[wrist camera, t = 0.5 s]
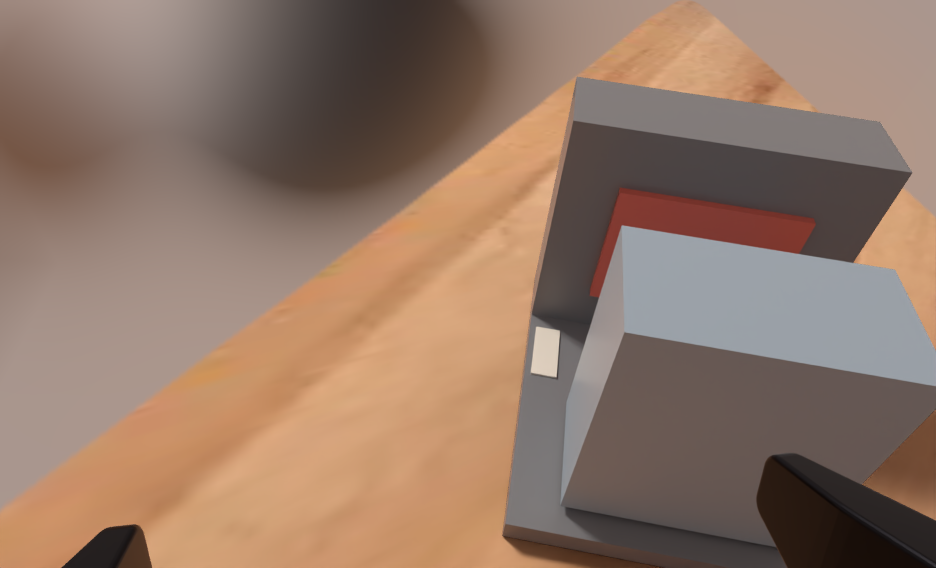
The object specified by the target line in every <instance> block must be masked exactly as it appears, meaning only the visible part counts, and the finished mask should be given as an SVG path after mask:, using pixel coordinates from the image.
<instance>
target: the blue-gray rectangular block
mask: <svg viewBox="0 0 936 568" xmlns="http://www.w3.org/2000/svg"><path fill="white" fill-rule="evenodd" d="M935 409H936V351H935V349H934V347H933V345H932V343H931V341H930V339H929V337H928V335H927V333H926V331H925V329H924V327H923V325H922V323H921V321H920V319H919V317H918V315H917V313H916V311H915V309H914V307H913V305H912V303H911V301H910V299H909V297H908V295H907V293H906V291H905V289H904V287H903V285H902V283H901V281H900V279H899V277H898V275H897V273H896V271H895V270H893V269H887V268H881V267H875V266H869V265H862V264H856V263H850V262H844V261H838V260H832V259H826V258H820V257H813V256H807V255H801V254H795V253H789V252H783V251H777V250H770V249H764V248H758V247H752V246H746V245H740V244H734V243H727V242H721V241H715V240H709V239H703V238H697V237H691V236H685V235H678V234H672V233H666V232H660V231H654V230H648V229H642V228H635V227H629V226H623V225H622V226H621V229H620V232H619V236H618V239H617V242H616V245H615V248H614V252H613V255H612V258H611V261H610V264H609V268H608V271H607V274H606V277H605V280H604V284H603V287H602V290H601V293H600V296H599V300H598V303H597V306H596V309H595V313H594V316H593V319H592V322H591V325H590V329H589V332H588V335H587V338H586V341H585V345H584V348H583V351H582V354H581V357H580V361H579V364H578V367H577V370H576V373H575V377H574V380H573V383H572V386H571V389H570V393H569V396H568V399H567V402H566V418H565V435H564V452H563V469H562V485H561V502H560V506H563V507H569V508H574V509H579V510H584V511H589V512H595V513H600V514H605V515H610V516H616V517H621V518H626V519H631V520H636V521H642V522H647V523H652V524H657V525H663V526H668V527H673V528H678V529H683V530H689V531H694V532H699V533H704V534H710V535H715V536H720V537H725V538H730V539H736V540H741V541H746V542H751V543H757V544H762V545H767V546H772V547H776V545H775V543H774V541H773V539H772V537H771V535H770V533H769V531H768V530H767V528H766V526H765V524H764V522H763V520H762V518H761V516H760V514H759V511H758V508H757V503H756V495H757V491H758V487H759V483H760V479H761V476H762V472H763V468H764V464H765V461H766V460H767V458H768V457H769V456H771V455H775V454H784V453H797V454H799V455H802V456H804V457H806V458H808V459H810V460H812V461H814V462H816V463H818V464H820V465H822V466H824V467H826V468H828V469H830V470H832V471H835V472H837V473H839V474H841V475H843V476H845V477H847V478H849V479H851V480H853V481H855V482H857V483H859V484H861V485H862V483H863V482H864V481H865V480H866V479H867V478H868V477H869V476H870V475H871V474H872V473H873V472H874V471H875V470H876V469H877V468H878V467H879V466H880V465H881V464H882V463H883V462H884V461H885V460H886V459H887V458H888V457H889V456H890V455H891V454H892V453H893V452H894V451H895V450H896V449H897V448H898V447H899V446H900V445H901V444H902V443H903V442H904V441H905V440H906V439H907V438H908V437H909V436H910V435H911V434H912V433H913V432H914V431H915V430H916V429H917V428H918V427H919V426H920V425H921V424H922V423H923V422H924V421H925V420H926V419H927V418H928V417H929V416H930V414H931V413H932V412H933V411H934V410H935Z"/></svg>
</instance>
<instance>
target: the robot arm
mask: <svg viewBox="0 0 936 568" xmlns="http://www.w3.org/2000/svg"><path fill="white" fill-rule="evenodd" d="M756 503H757V508H758V511H759V514H760V516H761V518H762V520H763V522H764V524H765V526H766V528H767V530H768V531H769V533H770V535H771V537H772V539H773V541H774V543H775V545H776V547H777V549H778V551H779V553H780V555H781V557H782V559H783V561H784V563H785V565H786V567H787V568H936V520H934V519H931V518H929V517H927V516H925V515H923V514H921V513H919V512H917V511H915V510H913V509H911V508H909V507H907V506H905V505H903V504H901V503H898V502H896V501H894V500H892V499H890V498H888V497H886V496H884V495H882V494H880V493H878V492H876V491H874V490H872V489H870V488H868V487H865V486H863V485H861V484H859V483H857V482H855V481H853V480H851V479H849V478H847V477H845V476H843V475H841V474H839V473H837V472H835V471H832V470H830V469H828V468H826V467H824V466H822V465H820V464H818V463H816V462H814V461H812V460H810V459H808V458H806V457H804V456H802V455H799V454H797V453H784V454H775V455H771V456H769V457H768V458H767V460H766V461H765V464H764V468H763V472H762V476H761V479H760V483H759V487H758V491H757V495H756ZM62 568H152V565H151V561H150V557H149V553H148V548H147V544H146V540H145V536H144V532H143V530H142V528H141V527H140V526H138V525H135V524H133V525H124V526H115V527H109V528H106V529H104V530H102V531H101V532H100V533H99V534H98V535H96V536H95V537H94V538H93V539H92V540H91V541H90V542H89V543H88V544H87V545H86V546H85V547H83V548H82V549H81V550H80V551H79V552H78V553H77V554H76V555H75V556H74V557H73V558H72V559H70V560H69V561H68V562H67V563H66V564H65V565H64V566H63V567H62Z"/></svg>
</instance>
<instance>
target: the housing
mask: <svg viewBox="0 0 936 568" xmlns="http://www.w3.org/2000/svg"><path fill="white" fill-rule="evenodd" d="M911 174H912V171H911V170H910V168H909V167H908V165H907V164H906V162H905V160H904V159H903V157H902V156H901V154H900V153H899V151H898V149H897V148H896V146H895V145H894V143H893V142H892V140H891V138H890V137H889V136H888V134H887V132H886V131H885V129H884V128H883V126H882V124H881V123H880V122H877V121H869V120H863V119H856V118H850V117H843V116H836V115H830V114H823V113H816V112H810V111H803V110H796V109H789V108H783V107H776V106H769V105H763V104H756V103H749V102H743V101H736V100H729V99H722V98H716V97H709V96H702V95H696V94H689V93H682V92H676V91H669V90H662V89H655V88H649V87H642V86H635V85H629V84H622V83H615V82H608V81H602V80H595V79H588V78H582V77H577V79H576V84H575V89H574V93H573V98H572V103H571V108H570V112H569V117H568V122H567V127H566V132H565V136H564V141H563V146H562V151H561V156H560V160H559V165H558V170H557V175H556V179H555V184H554V189H553V194H552V199H551V203H550V208H549V213H548V218H547V223H546V227H545V232H544V237H543V242H542V247H541V251H540V256H539V261H538V266H537V270H536V275H535V282H534V290H533V298H532V306H531V314H530V321H529V329H528V337H527V345H526V353H525V361H524V369H523V377H522V384H521V392H520V400H519V408H518V416H517V424H516V432H515V440H514V448H513V455H512V463H511V471H510V479H509V487H508V495H507V503H506V511H505V518H504V526H503V534H502V536H506V537H511V538H516V539H521V540H526V541H531V542H536V543H542V544H547V545H552V546H557V547H562V548H567V549H572V550H577V551H582V552H588V553H593V554H598V555H603V556H608V557H613V558H618V559H623V560H628V561H634V562H639V563H644V564H649V565H654V566H659V567H664V568H787V567H786V565H785V563H784V561H783V559H782V557H781V555H780V553H779V551H778V549H777V547H772V546H767V545H762V544H757V543H751V542H746V541H741V540H736V539H730V538H725V537H720V536H715V535H710V534H704V533H699V532H694V531H689V530H683V529H678V528H673V527H668V526H663V525H657V524H652V523H647V522H642V521H636V520H631V519H626V518H621V517H616V516H610V515H605V514H600V513H595V512H589V511H584V510H579V509H574V508H569V507H563V506H560V502H561V485H562V469H563V452H564V435H565V418H566V402H567V399H568V396H569V393H570V389H571V386H572V383H573V380H574V377H575V373H576V370H577V367H578V364H579V361H580V357H581V354H582V351H583V348H584V345H585V341H586V338H587V335H588V332H589V329H590V325H591V322H592V319H593V316H594V313H595V309H596V306H597V303H598V300H599V296H600V293H601V290H602V287H603V284H604V280H605V277H606V274H607V271H608V268H609V264H610V261H611V258H612V255H613V252H614V248H615V245H616V242H617V239H618V236H619V232H620V229H621V226H622V225H623V226H629V227H635V228H642V229H648V230H654V231H660V232H666V233H672V234H678V235H685V236H691V237H697V238H703V239H709V240H715V241H721V242H727V243H734V244H740V245H746V246H752V247H758V248H764V249H770V250H777V251H783V252H789V253H795V254H801V255H807V256H813V257H820V258H826V259H832V260H838V261H844V262H850V263H853V262H854V260H855V259H856V257H857V256H858V254H859V253H860V251H861V250H862V248H863V247H864V245H865V244H866V242H867V241H868V239H869V238H870V236H871V235H872V233H873V232H874V230H875V229H876V227H877V226H878V224H879V223H880V221H881V219H882V218H883V216H884V215H885V213H886V212H887V210H888V209H889V207H890V206H891V204H892V203H893V201H894V200H895V198H896V197H897V195H898V194H899V192H900V191H901V189H902V188H903V186H904V185H905V183H906V182H907V180H908V178H909V177H910V176H911Z"/></svg>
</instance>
